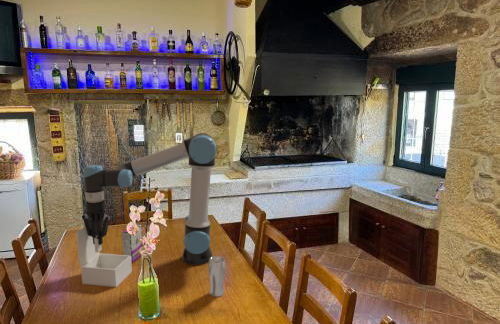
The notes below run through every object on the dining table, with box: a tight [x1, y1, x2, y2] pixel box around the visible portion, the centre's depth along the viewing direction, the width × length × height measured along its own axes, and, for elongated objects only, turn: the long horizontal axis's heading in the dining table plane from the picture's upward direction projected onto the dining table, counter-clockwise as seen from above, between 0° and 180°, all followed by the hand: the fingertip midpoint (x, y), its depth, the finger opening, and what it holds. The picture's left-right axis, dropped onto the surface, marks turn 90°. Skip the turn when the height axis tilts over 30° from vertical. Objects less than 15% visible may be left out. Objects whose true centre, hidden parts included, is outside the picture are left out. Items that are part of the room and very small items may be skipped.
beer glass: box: [207, 255, 226, 298], centre depth 145 cm, size 7×7×15 cm
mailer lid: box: [75, 225, 100, 268], centre depth 156 cm, size 16×14×1 cm
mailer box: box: [80, 252, 133, 288], centre depth 157 cm, size 16×14×8 cm
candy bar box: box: [121, 224, 143, 264], centre depth 176 cm, size 11×5×16 cm, turn 169°
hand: (98, 251), depth 156 cm, fingers closed
